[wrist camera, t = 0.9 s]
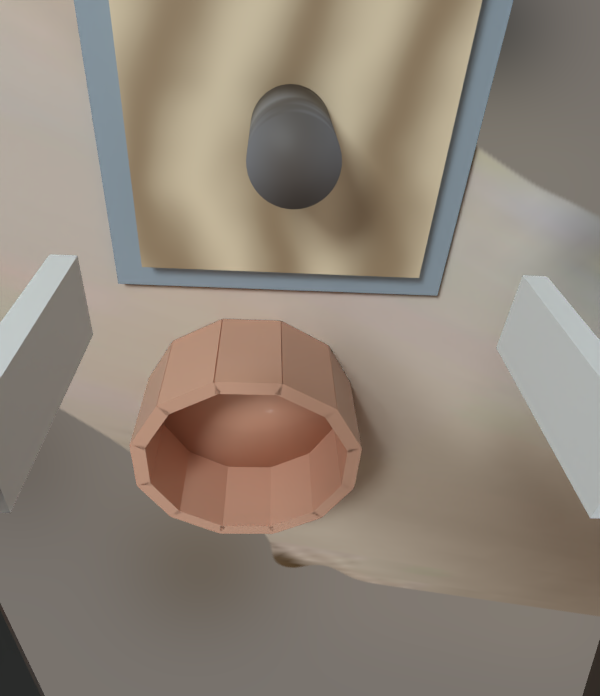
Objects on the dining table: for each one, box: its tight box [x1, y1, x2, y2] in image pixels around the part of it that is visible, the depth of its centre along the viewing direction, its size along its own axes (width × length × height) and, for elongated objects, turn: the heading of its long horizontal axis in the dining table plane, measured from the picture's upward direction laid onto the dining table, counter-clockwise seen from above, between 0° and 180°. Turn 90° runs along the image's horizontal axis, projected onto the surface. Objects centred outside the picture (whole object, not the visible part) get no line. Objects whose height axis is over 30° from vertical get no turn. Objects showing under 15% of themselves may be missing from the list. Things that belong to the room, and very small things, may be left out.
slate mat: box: [74, 0, 513, 296], centre depth 30 cm, size 22×22×1 cm
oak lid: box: [109, 0, 482, 278], centre depth 27 cm, size 18×18×7 cm
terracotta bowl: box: [130, 319, 362, 534], centre depth 41 cm, size 16×16×7 cm
